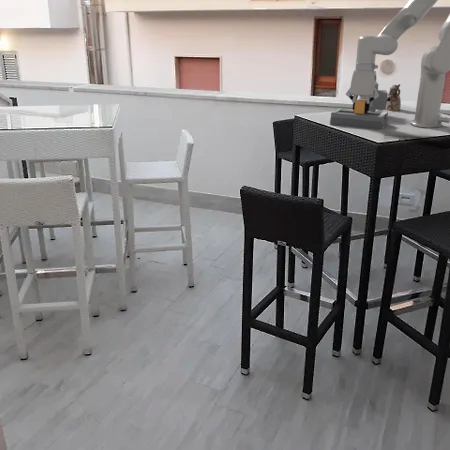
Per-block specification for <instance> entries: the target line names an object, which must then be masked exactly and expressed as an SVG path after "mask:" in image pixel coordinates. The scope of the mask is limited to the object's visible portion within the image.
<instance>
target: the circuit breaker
mask: <svg viewBox="0 0 450 450" xmlns="http://www.w3.org/2000/svg"><path fill="white" fill-rule="evenodd" d="M376 90H377V92H378V94H379V97H377V98H376V99H374V100H373V101H371V102H370V107H369V111H371V112H377V111H379V110H380V111H383V110H384V111H387V110H386V104H387V101H390V98H388V95H387V94H389V92H387V90H385V89H379V83H378V81H376ZM373 96H375V94H374V95H372V96H371V98H372V97H373ZM358 97H359V98H358V99H366V96H358ZM376 110H377V111H376Z"/></svg>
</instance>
